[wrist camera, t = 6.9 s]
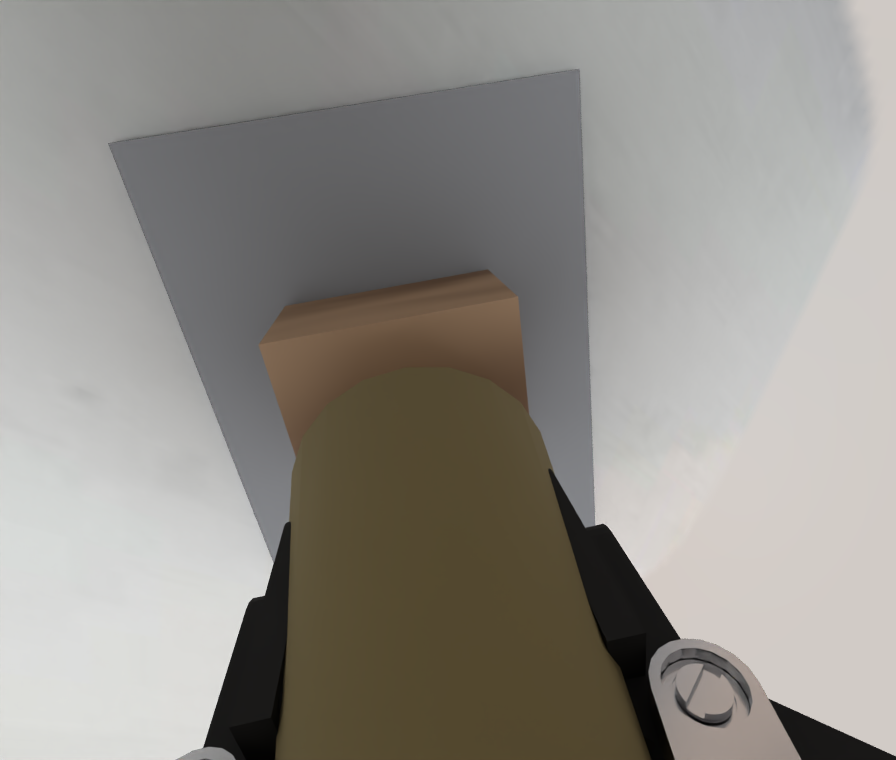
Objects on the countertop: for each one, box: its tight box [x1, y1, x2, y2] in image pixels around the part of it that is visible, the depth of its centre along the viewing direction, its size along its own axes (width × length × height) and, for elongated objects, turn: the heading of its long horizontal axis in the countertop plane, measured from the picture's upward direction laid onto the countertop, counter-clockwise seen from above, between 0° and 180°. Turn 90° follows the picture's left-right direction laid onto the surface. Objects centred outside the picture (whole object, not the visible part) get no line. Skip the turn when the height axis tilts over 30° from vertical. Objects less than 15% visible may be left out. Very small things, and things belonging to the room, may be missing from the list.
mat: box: [108, 69, 595, 562], centre depth 18 cm, size 18×14×1 cm
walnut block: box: [259, 269, 529, 457], centre depth 16 cm, size 7×7×4 cm
